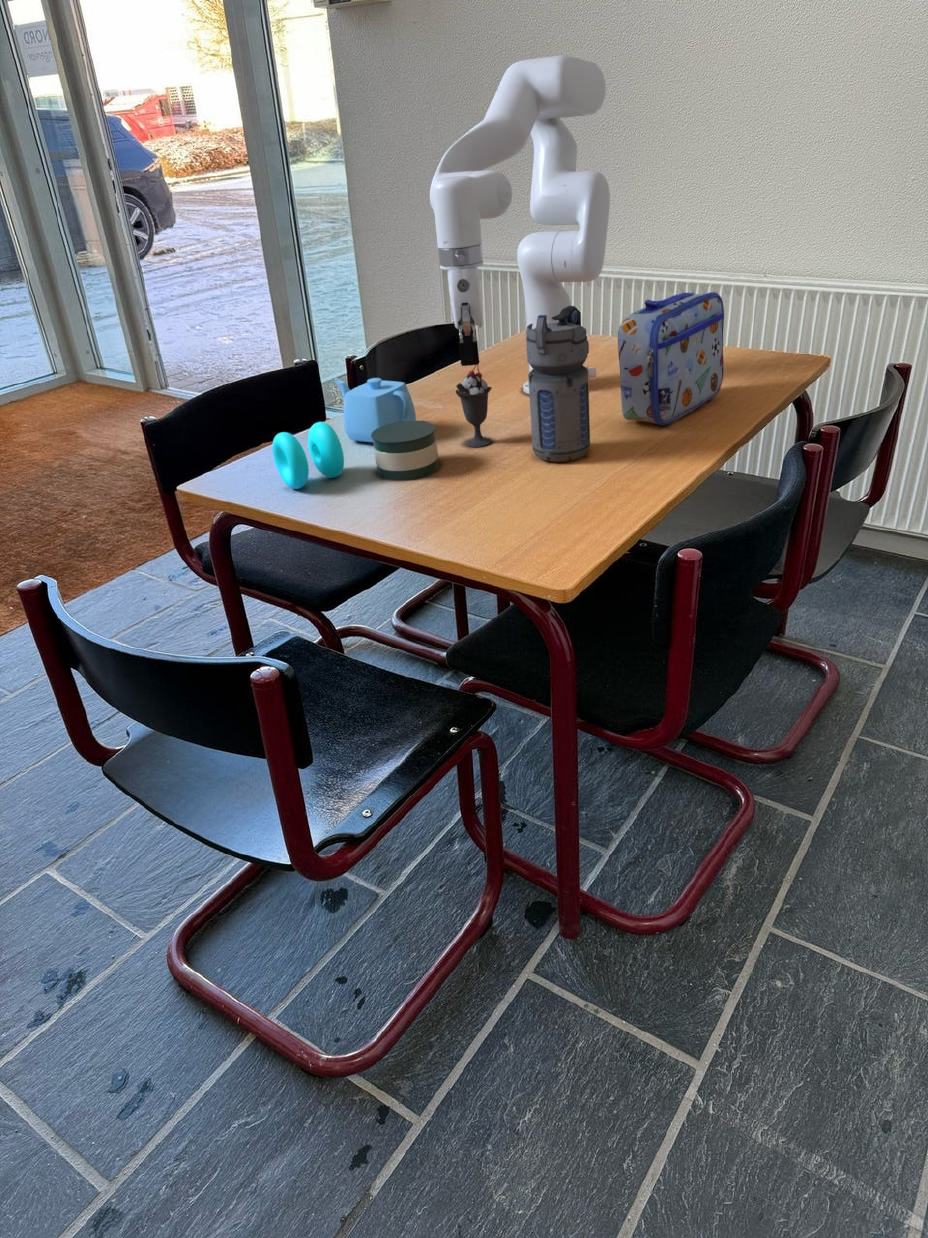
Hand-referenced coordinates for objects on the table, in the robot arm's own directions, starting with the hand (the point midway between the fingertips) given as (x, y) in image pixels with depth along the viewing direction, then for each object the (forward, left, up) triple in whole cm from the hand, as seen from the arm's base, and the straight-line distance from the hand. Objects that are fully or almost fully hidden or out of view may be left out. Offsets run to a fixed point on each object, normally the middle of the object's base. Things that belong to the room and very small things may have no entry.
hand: (469, 358), depth 163 cm
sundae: (0, 0, -16) cm, 16 cm away
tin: (+13, +10, -16) cm, 23 cm away
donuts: (+30, +12, -16) cm, 36 cm away
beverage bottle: (-15, +10, -16) cm, 24 cm away
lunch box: (-38, -7, -16) cm, 42 cm away
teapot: (+20, -10, -16) cm, 28 cm away
